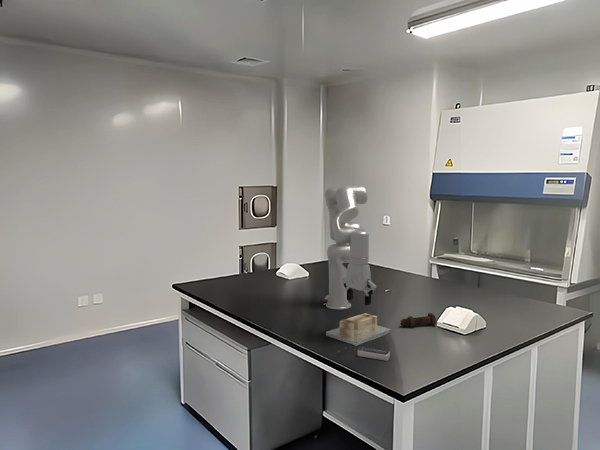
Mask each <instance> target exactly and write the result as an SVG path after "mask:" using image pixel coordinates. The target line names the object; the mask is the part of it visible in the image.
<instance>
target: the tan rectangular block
mask: <svg viewBox="0 0 600 450" xmlns="http://www.w3.org/2000/svg"><path fill="white" fill-rule="evenodd" d="M377 325H378V316H377V315H373V314H370V313H362V314H358V315H355V316H351V317H347V318H346V319H341V320H339V328H340V333H341V334H344V335H347V336H350V337H353V336H356V335H359V334H362V333H365V332H367V331H370V330H373V329H376V328H377Z"/></svg>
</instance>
